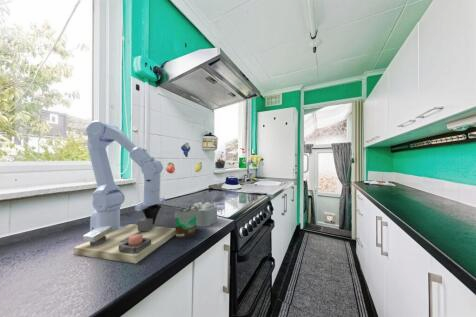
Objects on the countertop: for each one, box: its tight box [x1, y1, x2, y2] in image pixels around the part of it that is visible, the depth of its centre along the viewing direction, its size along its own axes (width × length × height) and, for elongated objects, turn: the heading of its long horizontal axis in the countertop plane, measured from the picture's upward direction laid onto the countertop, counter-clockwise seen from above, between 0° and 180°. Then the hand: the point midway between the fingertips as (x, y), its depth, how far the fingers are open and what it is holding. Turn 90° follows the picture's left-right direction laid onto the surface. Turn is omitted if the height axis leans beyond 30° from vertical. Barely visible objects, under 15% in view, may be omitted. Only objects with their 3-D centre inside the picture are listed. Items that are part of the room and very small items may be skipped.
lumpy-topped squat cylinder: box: [193, 201, 218, 228], centre depth 79 cm, size 10×13×9 cm
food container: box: [173, 204, 199, 239], centre depth 65 cm, size 12×6×10 cm, turn 168°
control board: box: [72, 223, 176, 264], centre depth 57 cm, size 22×20×4 cm
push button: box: [128, 234, 143, 247], centre depth 50 cm, size 4×4×3 cm
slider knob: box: [137, 217, 154, 231], centre depth 63 cm, size 4×3×4 cm
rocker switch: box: [82, 225, 113, 242], centre depth 53 cm, size 4×6×2 cm, turn 168°
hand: (151, 224), depth 66 cm, fingers closed
